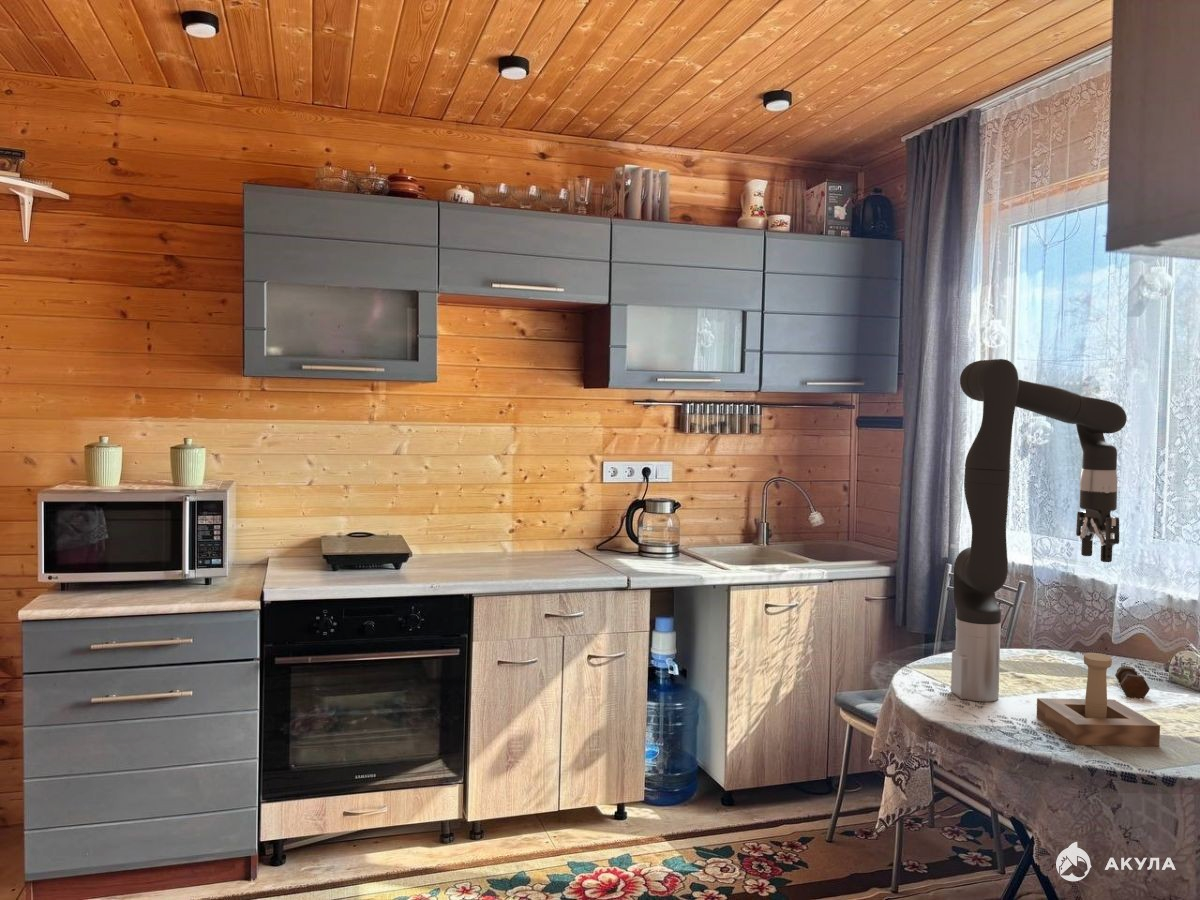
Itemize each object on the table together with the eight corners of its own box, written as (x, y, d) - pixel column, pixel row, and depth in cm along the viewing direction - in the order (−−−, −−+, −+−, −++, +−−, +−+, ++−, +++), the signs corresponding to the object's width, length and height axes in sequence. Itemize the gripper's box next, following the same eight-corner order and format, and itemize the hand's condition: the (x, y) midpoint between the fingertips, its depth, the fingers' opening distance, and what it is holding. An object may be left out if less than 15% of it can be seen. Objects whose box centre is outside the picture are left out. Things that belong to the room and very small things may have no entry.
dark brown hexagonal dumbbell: (1127, 688, 219) (1138, 705, 205) (1106, 676, 220) (1116, 691, 206) (1141, 668, 217) (1154, 683, 203) (1121, 656, 219) (1132, 670, 205)
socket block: (1075, 744, 175) (1076, 724, 175) (1036, 717, 191) (1037, 698, 191) (1159, 746, 175) (1160, 725, 175) (1113, 718, 191) (1114, 699, 191)
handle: (1082, 733, 181) (1084, 659, 180) (1080, 724, 187) (1083, 651, 186) (1110, 737, 179) (1112, 662, 178) (1107, 727, 185) (1110, 654, 184)
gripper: (1066, 486, 218) (1064, 554, 218) (1098, 491, 204) (1096, 563, 204) (1098, 486, 218) (1096, 554, 218) (1132, 492, 204) (1130, 564, 204)
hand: (1096, 558), depth 211 cm, fingers open, 8 cm apart
